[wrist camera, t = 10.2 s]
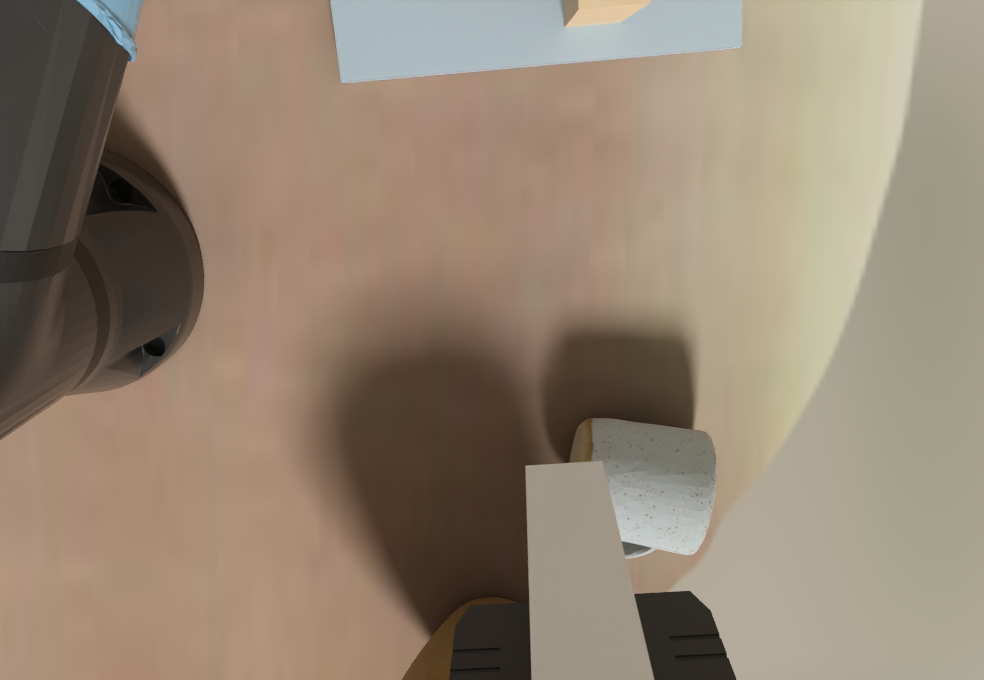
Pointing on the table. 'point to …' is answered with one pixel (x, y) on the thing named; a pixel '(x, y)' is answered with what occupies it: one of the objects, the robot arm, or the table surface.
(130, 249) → the robot arm
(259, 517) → the table surface
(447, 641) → the plant pot
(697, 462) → the ceramic mug
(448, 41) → the base
